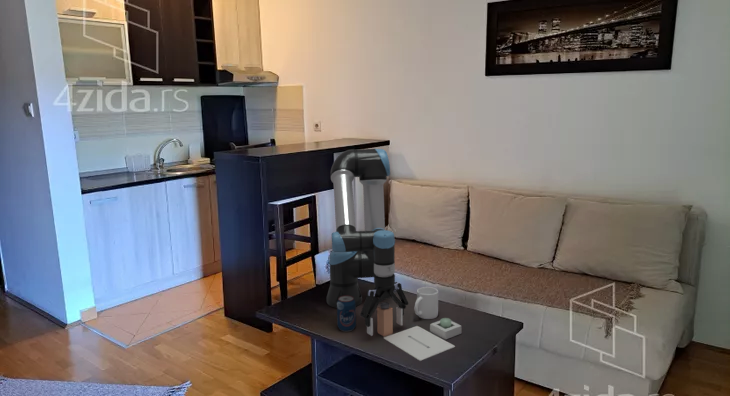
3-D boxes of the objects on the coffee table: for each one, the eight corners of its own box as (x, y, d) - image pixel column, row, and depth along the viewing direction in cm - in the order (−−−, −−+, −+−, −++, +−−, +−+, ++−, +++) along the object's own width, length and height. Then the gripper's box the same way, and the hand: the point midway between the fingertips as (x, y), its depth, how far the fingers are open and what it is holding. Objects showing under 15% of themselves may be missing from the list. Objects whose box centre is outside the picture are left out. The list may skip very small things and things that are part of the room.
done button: (437, 327, 185) (438, 319, 185) (445, 324, 188) (445, 317, 187) (445, 331, 182) (445, 323, 181) (453, 328, 184) (453, 320, 184)
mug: (423, 324, 192) (423, 299, 190) (406, 318, 198) (406, 293, 196) (442, 315, 200) (442, 290, 198) (425, 309, 206) (426, 285, 204)
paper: (383, 338, 181) (383, 337, 181) (417, 326, 190) (417, 325, 190) (420, 361, 165) (420, 360, 165) (455, 346, 174) (455, 346, 174)
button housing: (430, 331, 186) (430, 323, 186) (445, 325, 191) (446, 318, 190) (445, 339, 180) (445, 331, 179) (461, 333, 184) (461, 325, 184)
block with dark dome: (377, 332, 186) (377, 303, 184) (386, 329, 188) (385, 301, 186) (384, 336, 183) (383, 307, 181) (392, 333, 185) (392, 304, 183)
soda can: (341, 333, 186) (340, 303, 184) (335, 326, 192) (334, 296, 190) (358, 330, 188) (358, 300, 186) (352, 322, 195) (351, 293, 192)
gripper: (361, 284, 171) (362, 342, 175) (417, 269, 185) (417, 323, 189) (349, 278, 177) (351, 334, 181) (404, 264, 191) (404, 316, 195)
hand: (385, 329), depth 185 cm, fingers open, 13 cm apart
